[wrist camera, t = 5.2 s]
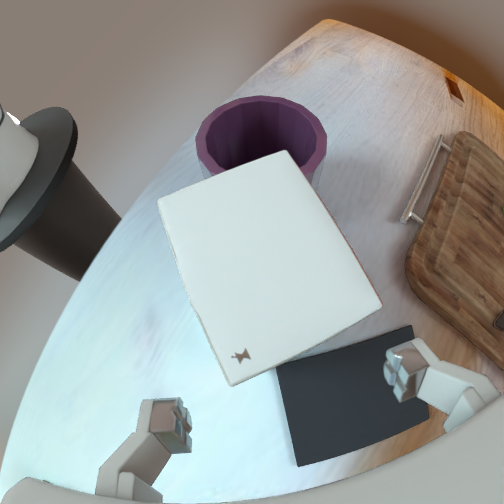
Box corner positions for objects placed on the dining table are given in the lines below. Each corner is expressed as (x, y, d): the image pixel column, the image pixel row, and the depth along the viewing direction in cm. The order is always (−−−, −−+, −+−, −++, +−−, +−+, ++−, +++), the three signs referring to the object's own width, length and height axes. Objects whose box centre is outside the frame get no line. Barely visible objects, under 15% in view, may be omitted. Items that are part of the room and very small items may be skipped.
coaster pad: (297, 465, 18) (297, 467, 17) (275, 365, 21) (275, 365, 20) (427, 417, 18) (429, 418, 18) (409, 325, 21) (411, 324, 21)
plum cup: (223, 256, 24) (203, 200, 16) (210, 175, 27) (191, 107, 19) (321, 236, 25) (346, 175, 16) (294, 160, 28) (303, 90, 19)
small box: (321, 337, 21) (389, 309, 9) (247, 372, 21) (226, 392, 9) (276, 251, 24) (286, 144, 12) (207, 282, 23) (150, 199, 11)
